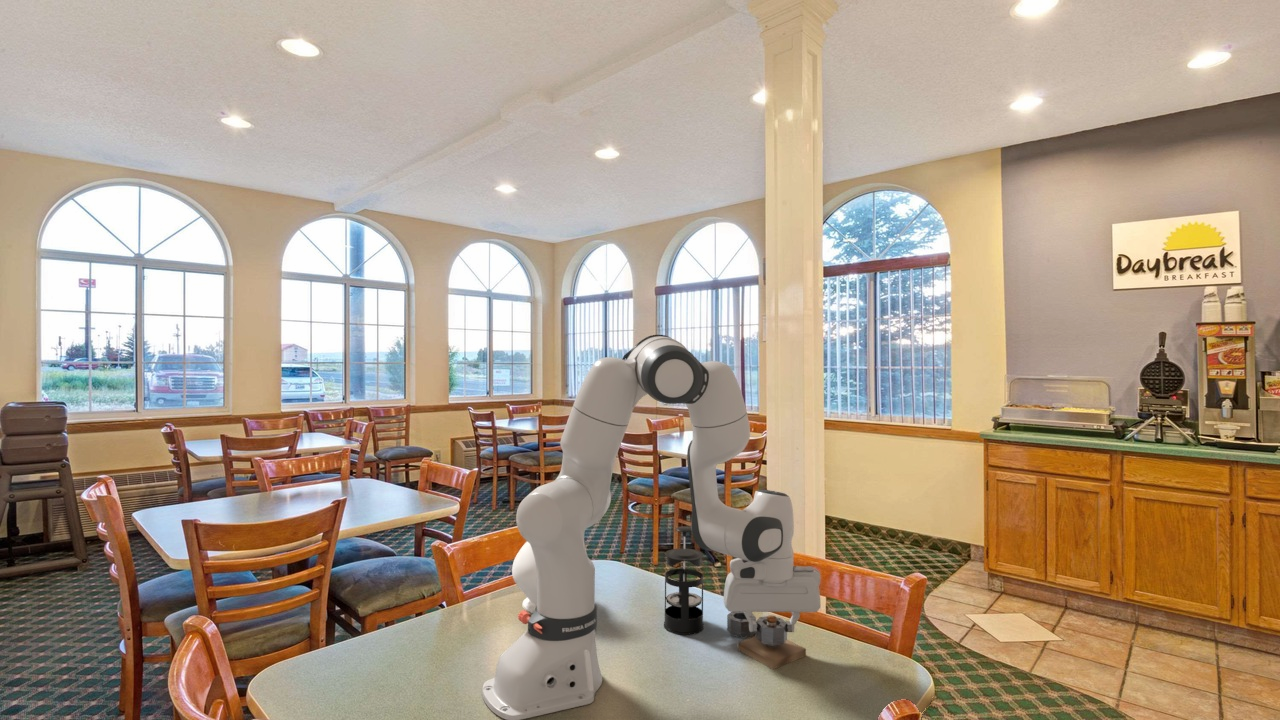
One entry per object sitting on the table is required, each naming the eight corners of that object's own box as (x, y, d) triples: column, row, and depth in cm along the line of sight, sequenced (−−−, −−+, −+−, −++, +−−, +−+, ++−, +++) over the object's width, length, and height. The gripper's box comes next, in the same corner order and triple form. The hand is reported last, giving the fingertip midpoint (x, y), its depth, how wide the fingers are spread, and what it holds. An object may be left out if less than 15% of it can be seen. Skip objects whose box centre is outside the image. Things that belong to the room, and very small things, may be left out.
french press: (705, 636, 135) (706, 534, 135) (663, 636, 135) (664, 533, 135) (701, 615, 147) (702, 521, 147) (663, 614, 147) (664, 520, 147)
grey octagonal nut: (765, 646, 124) (765, 629, 124) (752, 634, 130) (752, 618, 130) (791, 643, 126) (791, 626, 126) (776, 631, 131) (776, 615, 131)
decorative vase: (577, 619, 143) (578, 514, 144) (503, 617, 144) (505, 513, 144) (586, 591, 161) (587, 498, 161) (520, 590, 162) (521, 497, 162)
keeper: (772, 669, 121) (773, 631, 121) (737, 649, 129) (738, 614, 129) (805, 655, 126) (805, 620, 126) (770, 637, 135) (770, 604, 135)
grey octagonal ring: (747, 639, 134) (748, 623, 134) (723, 632, 137) (723, 617, 137) (759, 630, 138) (759, 615, 139) (735, 623, 142) (735, 608, 142)
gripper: (815, 561, 131) (815, 625, 131) (722, 560, 131) (722, 624, 131) (825, 571, 125) (824, 638, 125) (727, 570, 124) (726, 637, 124)
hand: (771, 631), depth 128 cm, fingers closed on grey octagonal nut, 6 cm apart
